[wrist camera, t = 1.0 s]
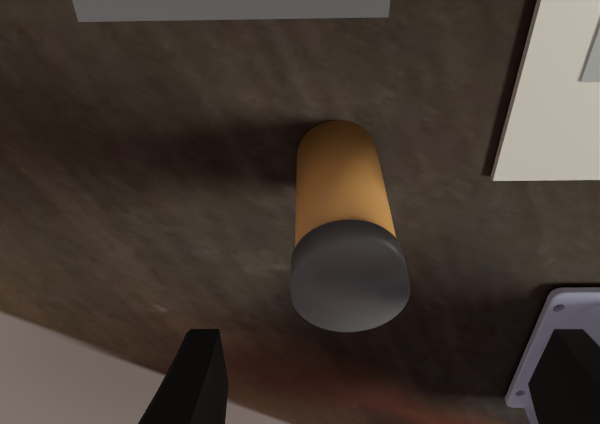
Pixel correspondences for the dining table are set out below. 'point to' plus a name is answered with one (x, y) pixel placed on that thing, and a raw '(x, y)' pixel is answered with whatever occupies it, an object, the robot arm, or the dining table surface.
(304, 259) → the bottle
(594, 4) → the paper
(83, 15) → the button housing
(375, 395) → the dining table surface
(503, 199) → the dining table surface
